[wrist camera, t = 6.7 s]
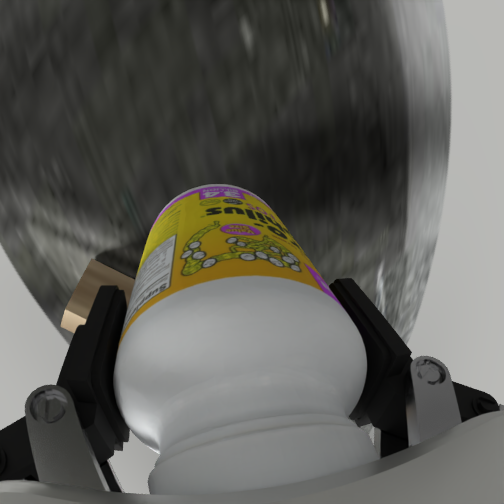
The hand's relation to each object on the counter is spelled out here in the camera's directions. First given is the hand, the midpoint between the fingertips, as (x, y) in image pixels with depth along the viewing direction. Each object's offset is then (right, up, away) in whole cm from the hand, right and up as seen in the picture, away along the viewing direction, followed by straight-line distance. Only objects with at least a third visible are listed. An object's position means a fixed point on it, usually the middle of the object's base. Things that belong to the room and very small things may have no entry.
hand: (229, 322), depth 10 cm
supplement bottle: (-1, +3, +6) cm, 6 cm away
